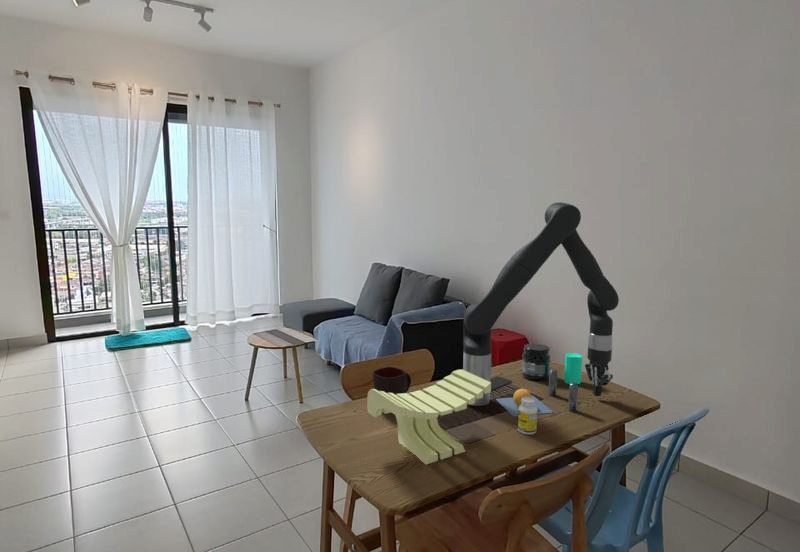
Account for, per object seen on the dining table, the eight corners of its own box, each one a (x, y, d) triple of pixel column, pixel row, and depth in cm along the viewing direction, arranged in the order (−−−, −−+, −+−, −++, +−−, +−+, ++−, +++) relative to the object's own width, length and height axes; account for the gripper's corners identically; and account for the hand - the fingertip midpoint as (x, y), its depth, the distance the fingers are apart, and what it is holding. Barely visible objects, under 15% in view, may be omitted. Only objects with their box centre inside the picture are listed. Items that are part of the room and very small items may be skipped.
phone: (513, 381, 185) (489, 390, 175) (513, 383, 185) (489, 392, 175) (497, 376, 191) (472, 385, 181) (497, 378, 191) (472, 387, 181)
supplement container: (544, 372, 196) (546, 343, 194) (553, 381, 186) (554, 350, 184) (518, 372, 196) (519, 343, 194) (525, 381, 185) (526, 351, 184)
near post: (571, 412, 158) (572, 385, 157) (566, 409, 160) (568, 382, 159) (578, 411, 158) (579, 385, 157) (574, 408, 161) (575, 382, 160)
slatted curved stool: (453, 422, 151) (454, 366, 148) (489, 443, 137) (491, 382, 135) (367, 447, 135) (367, 385, 133) (398, 474, 122) (398, 405, 119)
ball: (530, 389, 159) (538, 403, 160) (521, 382, 164) (529, 396, 166) (515, 400, 158) (523, 414, 159) (507, 392, 164) (515, 406, 165)
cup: (368, 407, 162) (368, 372, 160) (398, 395, 171) (399, 362, 170) (388, 416, 155) (388, 379, 153) (419, 404, 164) (419, 369, 163)
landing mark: (512, 416, 155) (512, 415, 155) (495, 399, 168) (495, 398, 168) (553, 412, 158) (553, 412, 158) (533, 396, 171) (533, 395, 171)
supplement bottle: (514, 428, 147) (515, 397, 145) (529, 425, 149) (530, 394, 147) (524, 436, 142) (526, 403, 140) (540, 433, 144) (541, 401, 142)
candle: (582, 385, 182) (583, 354, 180) (565, 384, 183) (566, 353, 181) (579, 379, 187) (581, 349, 186) (563, 378, 189) (564, 348, 187)
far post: (550, 396, 171) (551, 372, 169) (547, 394, 173) (548, 369, 172) (557, 396, 171) (558, 371, 170) (553, 393, 174) (555, 369, 172)
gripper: (579, 341, 171) (576, 389, 174) (601, 352, 159) (598, 403, 161) (598, 340, 173) (595, 387, 175) (622, 351, 160) (618, 402, 163)
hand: (596, 395), depth 168 cm, fingers closed
